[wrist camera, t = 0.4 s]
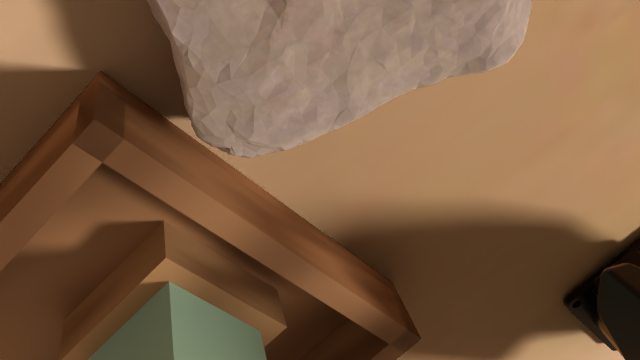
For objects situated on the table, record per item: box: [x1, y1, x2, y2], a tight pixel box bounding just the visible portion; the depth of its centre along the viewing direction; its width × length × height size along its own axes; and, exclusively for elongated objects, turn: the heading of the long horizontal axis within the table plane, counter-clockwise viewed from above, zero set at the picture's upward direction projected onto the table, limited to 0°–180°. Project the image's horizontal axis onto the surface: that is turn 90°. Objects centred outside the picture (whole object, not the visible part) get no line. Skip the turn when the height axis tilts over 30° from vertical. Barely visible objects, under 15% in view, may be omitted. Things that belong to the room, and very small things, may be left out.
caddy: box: [0, 72, 421, 360], centre depth 24 cm, size 16×12×4 cm
